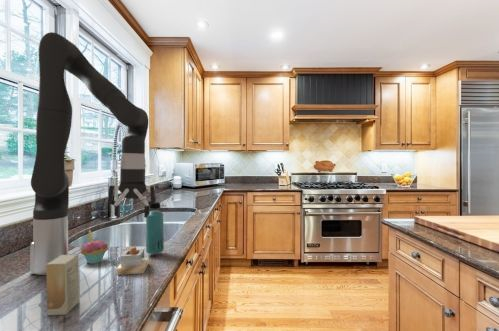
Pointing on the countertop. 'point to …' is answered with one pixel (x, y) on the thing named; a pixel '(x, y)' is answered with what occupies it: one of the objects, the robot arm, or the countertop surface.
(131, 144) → the robot arm
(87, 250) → the cupcake
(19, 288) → the countertop surface
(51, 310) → the skincare box
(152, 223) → the beverage bottle
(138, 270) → the keeper
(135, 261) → the link
